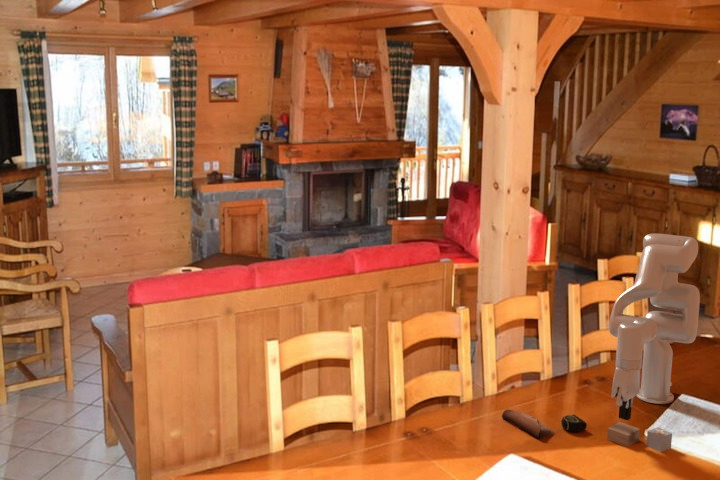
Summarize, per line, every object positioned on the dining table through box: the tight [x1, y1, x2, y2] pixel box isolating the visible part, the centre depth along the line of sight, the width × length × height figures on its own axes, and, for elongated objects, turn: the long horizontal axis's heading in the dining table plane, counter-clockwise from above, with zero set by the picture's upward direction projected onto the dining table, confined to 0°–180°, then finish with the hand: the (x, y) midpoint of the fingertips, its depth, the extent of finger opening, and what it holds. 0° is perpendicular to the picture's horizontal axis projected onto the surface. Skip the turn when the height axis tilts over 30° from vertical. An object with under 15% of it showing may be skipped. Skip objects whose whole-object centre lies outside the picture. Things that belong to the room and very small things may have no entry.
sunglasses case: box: [501, 409, 557, 440], centre depth 246 cm, size 18×7×7 cm
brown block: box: [606, 421, 641, 448], centre depth 237 cm, size 7×7×4 cm
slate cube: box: [646, 426, 673, 453], centre depth 232 cm, size 5×5×5 cm
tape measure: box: [561, 414, 588, 432], centre depth 245 cm, size 7×7×4 cm
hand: (624, 418), depth 236 cm, fingers closed
